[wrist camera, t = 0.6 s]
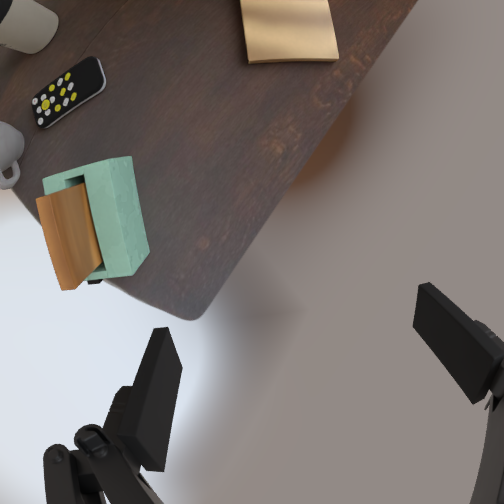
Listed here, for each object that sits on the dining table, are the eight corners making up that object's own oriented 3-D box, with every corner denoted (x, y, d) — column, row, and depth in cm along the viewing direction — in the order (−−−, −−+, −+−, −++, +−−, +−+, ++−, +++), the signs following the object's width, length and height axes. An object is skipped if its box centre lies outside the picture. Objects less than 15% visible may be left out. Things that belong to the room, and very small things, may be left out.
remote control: (110, 87, 33) (104, 85, 31) (44, 132, 34) (37, 132, 32) (99, 54, 30) (93, 51, 29) (35, 100, 31) (27, 99, 30)
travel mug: (49, 5, 25) (-13, -28, 8) (66, 25, 28) (-2, -10, 11) (18, 40, 27) (-50, 21, 10) (33, 62, 29) (-42, 45, 12)
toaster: (95, 269, 42) (72, 293, 34) (72, 171, 36) (42, 178, 29) (152, 262, 42) (136, 287, 34) (131, 155, 36) (108, 159, 29)
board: (237, -16, 28) (237, -21, 27) (319, -17, 28) (322, -21, 27) (248, 64, 33) (248, 61, 31) (335, 61, 33) (339, 59, 32)
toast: (102, 251, 38) (61, 291, 26) (87, 181, 34) (35, 198, 23) (115, 249, 38) (75, 289, 26) (99, 178, 34) (49, 194, 23)
